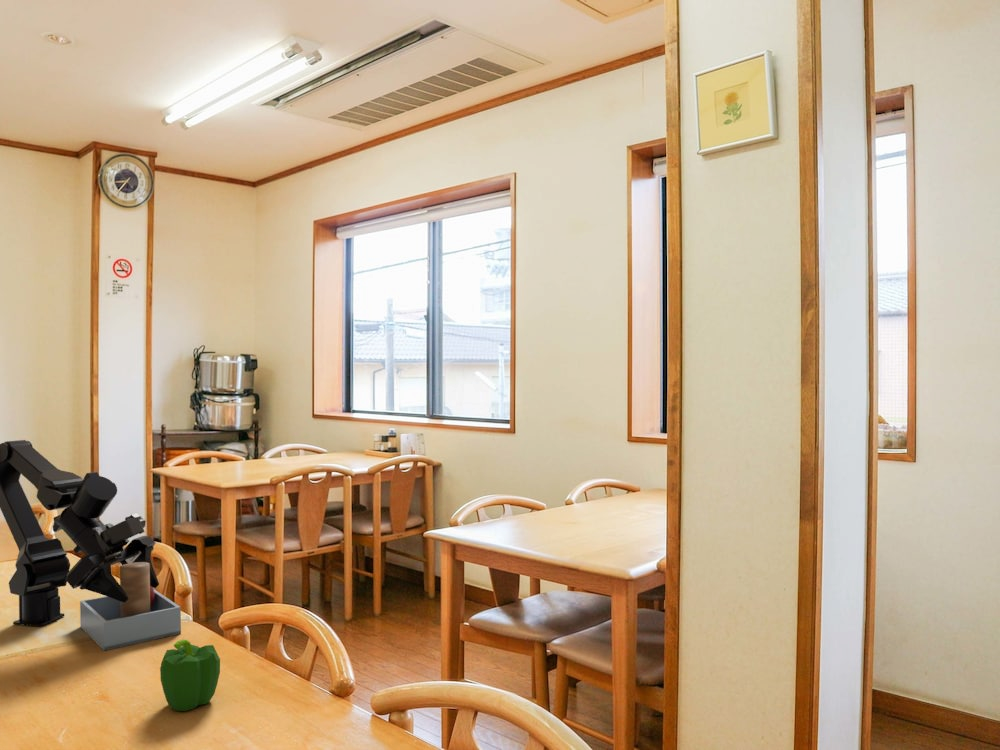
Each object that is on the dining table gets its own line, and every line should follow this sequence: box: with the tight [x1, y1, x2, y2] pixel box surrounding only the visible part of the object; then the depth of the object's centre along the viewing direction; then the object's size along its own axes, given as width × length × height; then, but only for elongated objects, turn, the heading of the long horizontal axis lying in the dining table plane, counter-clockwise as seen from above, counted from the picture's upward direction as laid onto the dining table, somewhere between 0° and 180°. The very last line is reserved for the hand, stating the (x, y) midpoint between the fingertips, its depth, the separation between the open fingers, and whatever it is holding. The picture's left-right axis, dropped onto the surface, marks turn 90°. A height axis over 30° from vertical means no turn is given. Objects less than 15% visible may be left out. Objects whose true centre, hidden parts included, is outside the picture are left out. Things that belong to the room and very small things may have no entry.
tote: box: [79, 588, 182, 651], centre depth 148 cm, size 17×13×5 cm
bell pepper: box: [159, 639, 221, 712], centre depth 115 cm, size 8×8×10 cm
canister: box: [119, 562, 150, 618], centre depth 145 cm, size 5×5×12 cm
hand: (142, 593), depth 145 cm, fingers open, 9 cm apart
